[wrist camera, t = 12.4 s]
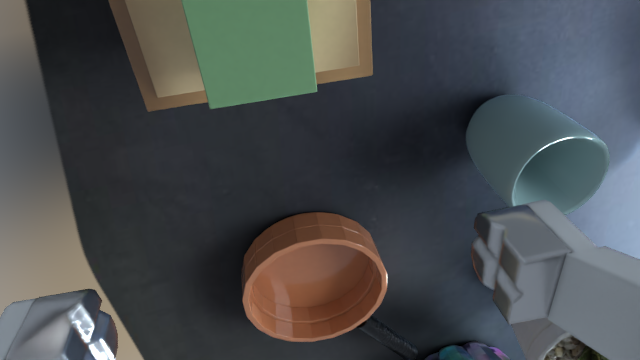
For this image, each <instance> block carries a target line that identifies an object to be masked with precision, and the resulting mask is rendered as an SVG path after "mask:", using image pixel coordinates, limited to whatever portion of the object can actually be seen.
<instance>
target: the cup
mask: <svg viewBox="0 0 640 360" xmlns="http://www.w3.org/2000/svg"><path fill="white" fill-rule="evenodd" d="M466 146H467V150H468V154H469V156H470V158H471V160H472V162H473V163H474V165H475V167H476V168H477V170H478V171H479V173H480V174H481V175H482V177H483V178H484V179H485V181H486V182H487V183H488V184H489V185H490V187H491V188H492V189H493V190H494V191H495V192H496V194H497V195H498V196H499V197H500V198H501V199H502V200H503V201H504V203H505V204H506V205H507V206H508V207H512V206H517V205H522V204H525V203H530V202H535V201H540V200H547V201H550V202H551V203H552V204H553V205H554V206H555V207H556V208H557V209H559V210H560V211H561V212H562V213H563V214H564V215H567V214H570V213H572V212H573V211H575V210H577V209H578V208H580V207H581V206H582V205H584V204H585V203H586V202H587V201H588V200H589V199H590V198H591V197H592V196H593V195H594V194H595V192H596V191H597V190H598V188H599V187H600V185H601V184H602V182H603V180H604V178H605V176H606V173H607V171H608V166H609V151H608V147H607V145H606V144H605V143H604V142H603V141H602V139H601V138H600V137H598V136H597V135H596V134H594V133H593V132H592V131H590V130H589V129H587V128H586V127H584V126H583V125H581V124H580V123H578V122H577V121H575V120H574V119H572V118H571V117H569V116H567V115H566V114H564V113H562V112H561V111H559V110H557V109H556V108H554V107H552V106H550V105H549V104H547V103H545V102H543V101H540V100H538V99H535V98H532V97H528V96H525V95H518V94H507V95H501V96H497V97H494V98H491V99H489V100H487V101H486V102H484V103H483V104H482V105H480V106H479V107H478V108H477V110H476V111H475V112H474V114H473V115H472V117H471V119H470V121H469V123H468V126H467V131H466Z"/></svg>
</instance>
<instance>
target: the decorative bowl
mask: <svg viewBox="0 0 640 360" xmlns="http://www.w3.org/2000/svg"><path fill="white" fill-rule="evenodd" d="M424 360H512V359H510V358H509V357H507V356H506V355H505V354H504V353H503V352H502V351H500V350H499V349H498V348H495V347H488V346H486V345H485V344H483V343H480V342H478V341H473V342H468V343H467V344H465V345H463V346H456V345H451V346H447V347H444V348H442V349H441V350H440V351H439V352H438V353H435V354H432V355H429V356H428V357H427V358H426V359H424Z"/></svg>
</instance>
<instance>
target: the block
mask: <svg viewBox="0 0 640 360" xmlns="http://www.w3.org/2000/svg"><path fill="white" fill-rule="evenodd" d="M181 2H182V6H183V9H184V13H185V17H186V21H187V25H188V28H189V32H190V36H191V40H192V43H193V47H194V51H195V55H196V58H197V62H198V66H199V70H200V74H201V77H202V81H203V85H204V89H205V92H206V96H207V100H208V104H209V107H210V109H214V108H220V107H226V106H232V105H239V104H245V103H251V102H257V101H263V100H269V99H275V98H282V97H288V96H294V95H300V94H306V93H312V92H317V84H316V75H315V66H314V57H313V48H312V39H311V30H310V21H309V12H308V3H307V0H181Z"/></svg>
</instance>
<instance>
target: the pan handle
mask: <svg viewBox="0 0 640 360" xmlns="http://www.w3.org/2000/svg"><path fill="white" fill-rule="evenodd" d="M357 328H358V329H360V330H361V331H363V332H364V333H366V334H368V335H369V336H371V337H372V338H374V339H375V340H377V341H378V342H380V343H381V344H383V345H384V346H386V347H387V348H389V349H390V350H392V351H393V352H395V353H396V354H398V355H399V356H401V357H402V358H404V359H405V360H414V359H415V358H416V357H417V354H418V350H417V347H416V346H415V345H413V344H412V343H411V342H409V341H408V340H406V339H405V338H404V337H402V336H401V335H399V334H398V333H397V332H395V331H394V330H392V329H391V328H389V327H388V326H387V325H385V324H384V323H382V322H381V321H380V320H378V319H377V318H375V317H374V316H373V315H371V316H370V317H369V318H368V319H367V320H366V321H364V322H363V323H361V324H360V325H358V326H357Z"/></svg>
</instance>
